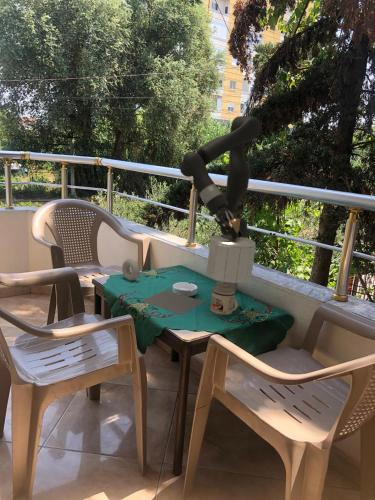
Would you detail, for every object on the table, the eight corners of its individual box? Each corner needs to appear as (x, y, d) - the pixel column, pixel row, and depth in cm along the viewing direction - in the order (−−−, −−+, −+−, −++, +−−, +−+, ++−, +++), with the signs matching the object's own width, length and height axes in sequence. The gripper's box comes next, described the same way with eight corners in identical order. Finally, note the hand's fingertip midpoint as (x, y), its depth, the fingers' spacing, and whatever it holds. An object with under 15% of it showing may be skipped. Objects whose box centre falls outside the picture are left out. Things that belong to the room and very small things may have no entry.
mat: (166, 291, 176) (166, 289, 176) (204, 303, 167) (204, 301, 167) (140, 302, 161) (140, 300, 161) (180, 316, 152) (180, 314, 152)
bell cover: (219, 266, 166) (226, 213, 161) (257, 276, 158) (265, 220, 153) (198, 274, 152) (205, 217, 147) (238, 286, 144) (247, 225, 139)
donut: (119, 277, 187) (121, 256, 184) (125, 276, 189) (127, 255, 187) (134, 284, 181) (135, 262, 178) (140, 282, 183) (141, 261, 181)
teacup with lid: (204, 309, 160) (208, 281, 157) (220, 305, 166) (224, 278, 163) (227, 320, 152) (230, 291, 149) (243, 316, 158) (247, 287, 155)
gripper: (211, 194, 146) (238, 234, 143) (229, 192, 157) (253, 229, 154) (197, 206, 150) (222, 245, 147) (215, 204, 161) (239, 240, 158)
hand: (238, 237), depth 151 cm, fingers closed on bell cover, 3 cm apart
